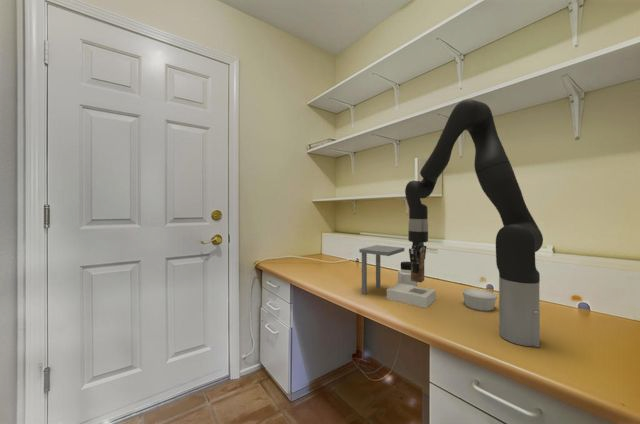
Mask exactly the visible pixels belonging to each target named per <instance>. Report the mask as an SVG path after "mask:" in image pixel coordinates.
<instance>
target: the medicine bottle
mask: <svg viewBox="0 0 640 424" xmlns="http://www.w3.org/2000/svg"><path fill="white" fill-rule="evenodd" d="M398 283H402V284H407V285H412V286H417V287H418V282H415V281H411V262H410V260H409V261H408V260H407V261H405V260H404V261H401V262H400V270H397V284H398Z"/></svg>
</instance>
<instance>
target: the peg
mask: <svg viewBox="0 0 640 424" xmlns="http://www.w3.org/2000/svg"><path fill="white" fill-rule="evenodd" d="M418 255H419V254H418ZM418 255H417V256H418ZM414 260H415V258H414ZM411 281H415V282H417V283H423V282H424V281H425V260H424V251H423V252H421V254H420V258H419V273H413V263H412V262H411Z"/></svg>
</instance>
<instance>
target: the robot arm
mask: <svg viewBox="0 0 640 424" xmlns="http://www.w3.org/2000/svg"><path fill="white" fill-rule="evenodd" d="M493 116H494V115H493V113H492V109H491V108H490V107H489V105H488V104H487V103H485V102H482V101H479V100H476V99H469V98H468V99H463V100H461V101H459V102H458V103H457V104H455V106H454V108H453V109H452V111H451V113H450V114H449V117H448V119H447V121H446V123H445V126H444V128H443V130H442V132H441V134H440V136H439V139H438V140H437V142H436V145H435V147H434V148H433V150H432V152H431V153H430V155H429V157H428V159H427V160H426V161H425V162H424V165H423V166H422V168H421V170H420V172H419V173H420V176H421V177H422V179H421V180H410V181H408V183H407V184H406V185H405V188H404V189H405V190H404V192H405V193H404V194H405V198H406V201H407V206H408V209H409V211H408V215H409V216H408V219H409V220H408V226H407V227H408V233H407V234H408V239H407V241H408V242H411V243H412V244H411V248H408V254H409V262H412V263H413V273H419V258H420V254H421V252H423V251H424V261H425V260H426V256H427V255H426V254H427V245H425V243H427V242H429V222H428V212H429V211H428V206H427V205H426V204H424V203H422V200H421V199H427V198H428V197H430V195H432V194H433V191H434V190H435V187H436V184H437V181H438V179H439V178H440V176H441V175H442V174H443V172H444V171H445V169H446V168H447V166H448V164H449V162H450V159H451V156H452V151H453V149H454V146H455V144H456V142H457V140H458V138H459V137H460V136H461V135H462V134H463V133H464V132H465V131H467V132H468V133H469V135H470V137H471V139H472V142H473V144H474V148H475V150H474V151H475V154H474V172H475V175H476V178H477V180H478V183H479V186H480V188H481V189H482V191H483V193H484V194H485V196H486V197H487V199H489V201H490V202H491V203H492V204H493V206H494V207H495V209H496V211H497V212H498V214H499V216H500V218H501V222H502V224H503V225H502V227H501V228H500V229H499V230H498V231H497V233H496V237H495V262H496V263H495V265H496V268H497V270H498V274H499V275H498V336H500V337H501V338H503V339H504V340H506V341H508V342H510V343H512V344H515V345H519V346H524V347H535V348H540V344H541V343H540V334H541V332H540V328H541V327H540V326H541V325H540V317H541V315H540V314H541V313H540V311H541V310H540V309H541V308H540V304H541V303H540V281H541V279H540V272H539V271H538V269H537V265H536V253H537V252H538V251H540V249H541V248H542V246H543V244H544V238H543V237H544V236H543V233H542V232H541V230H540V228H539V226H538V224H537V223H536V220H535V219H534V217H533V215H532V214H531V211H530V210H529V208H528V207H527V205H526V202H525V199H524V196H523V192H522V190H521V188H520V187H521V186H520V185H519V183H518V180H517V177H516V174H515V171H514V169H513V166H512V164H511V161H510V160H509V158H508V155H507V152H506V151H505V149H504V146H503V143H502V142H501V139H500V137H499V135H498V132H497V131H498V130H497V127H496V125H495V121H494V117H493ZM418 254H419V255H418ZM417 255H418V256H417ZM414 258H415V260H414Z"/></svg>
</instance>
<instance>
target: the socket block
mask: <svg viewBox="0 0 640 424" xmlns="http://www.w3.org/2000/svg"><path fill="white" fill-rule="evenodd" d="M436 296H437V293H436V289H432V288H426V287H421V286H418V285H417V286H412V285H407V284H402V283H398V282H397V283H396V284H394V285H391V286H390V287H388V288H387V289H386V300H389V301H390V300H391V301H395V302H399V303H403V304H406V305H407V304H408V305H411V306H415V307H418V308H419V307H420V308H423V309H427V308H428V307H430V305H432V304H433V303H434V302H435V301H436V298H437V297H436Z"/></svg>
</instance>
